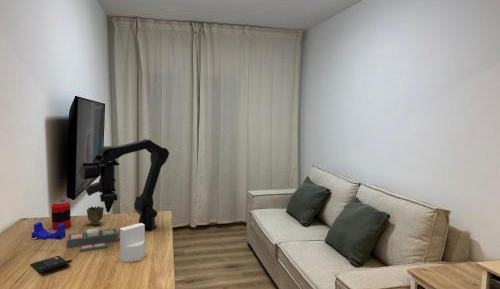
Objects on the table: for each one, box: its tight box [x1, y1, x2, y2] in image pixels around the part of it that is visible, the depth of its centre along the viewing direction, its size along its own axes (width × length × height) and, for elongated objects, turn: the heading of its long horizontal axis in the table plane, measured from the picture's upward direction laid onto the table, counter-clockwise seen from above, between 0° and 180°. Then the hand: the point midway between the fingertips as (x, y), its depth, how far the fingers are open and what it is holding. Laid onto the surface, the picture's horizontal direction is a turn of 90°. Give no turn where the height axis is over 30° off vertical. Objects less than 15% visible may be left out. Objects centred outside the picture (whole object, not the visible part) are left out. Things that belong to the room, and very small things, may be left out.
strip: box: [79, 242, 108, 253], centre depth 133 cm, size 10×3×1 cm, turn 117°
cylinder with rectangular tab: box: [119, 222, 146, 263], centre depth 127 cm, size 9×9×12 cm
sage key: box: [102, 229, 114, 235], centre depth 143 cm, size 4×4×2 cm
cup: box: [86, 205, 105, 226], centre depth 159 cm, size 8×7×8 cm
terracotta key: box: [71, 233, 83, 239], centre depth 137 cm, size 4×4×2 cm
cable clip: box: [31, 221, 66, 241], centre depth 142 cm, size 12×4×6 cm, turn 86°
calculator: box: [29, 255, 73, 274], centre depth 118 cm, size 9×12×3 cm
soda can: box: [50, 200, 72, 231], centre depth 154 cm, size 8×8×12 cm
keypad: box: [65, 228, 120, 249], centre depth 140 cm, size 20×8×3 cm, turn 117°
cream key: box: [86, 228, 99, 237], centre depth 140 cm, size 4×4×2 cm
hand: (107, 212), depth 142 cm, fingers closed
